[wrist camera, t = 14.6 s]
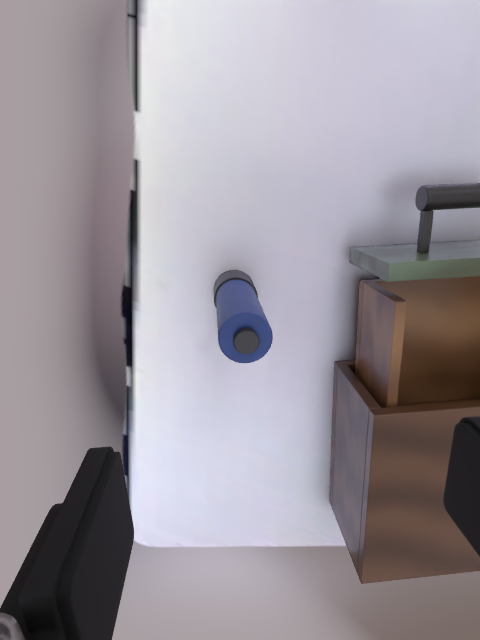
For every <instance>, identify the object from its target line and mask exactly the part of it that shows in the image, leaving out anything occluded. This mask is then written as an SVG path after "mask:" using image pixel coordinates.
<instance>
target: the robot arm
mask: <svg viewBox="0 0 480 640" xmlns="http://www.w3.org/2000/svg"><path fill="white" fill-rule="evenodd" d="M443 502H444V507H445V509H446V511H447V513H448V514H449V516H450V517H451V518H452V520H453V521H454V523H455V524H456V525H457V527H458V528H459V529H460V531H461V532H462V534H463V535H464V536H465V538H466V539H467V540H468V542H469V543H470V544H471V546H472V547H473V549H474V550H475V551H476V553H477V554H478V555H479V557H480V416H475V417H464V418H462V419H461V420H460V422H459V423H458V424H456V425H455V428H454V433H453V440H452V446H451V452H450V459H449V465H448V471H447V477H446V484H445V490H444V496H443ZM133 539H134V527H133V521H132V516H131V510H130V504H129V499H128V493H127V488H126V482H125V476H124V471H123V465H122V459H121V454H120V452H114V451H113V448H112V447H101V448H90V449H89V450H88V451H87V454H86V456H85V458H84V460H83V462H82V464H81V466H80V468H79V470H78V473H77V474H76V477H75V479H74V481H73V483H72V485H71V487H70V489H69V491H68V494H67V496H66V498H65V500H64V502H63V503H61V504H55V505H54V506H52V508H51V509H50V511H49V513H48V515H47V516H46V518H45V520H44V523H43V525H42V526H41V528H40V530H39V532H38V534H37V536H36V538H35V540H34V542H33V544H32V546H31V548H30V550H29V552H28V554H27V556H26V558H25V560H24V562H23V564H22V566H21V568H20V570H19V572H18V574H17V576H16V578H15V580H14V582H13V584H12V586H11V588H10V590H9V592H8V594H7V596H6V598H5V600H4V602H3V604H2V606H1V608H0V640H112V636H113V631H114V627H115V622H116V618H117V613H118V609H119V604H120V600H121V595H122V590H123V586H124V581H125V577H126V572H127V568H128V563H129V559H130V554H131V549H132V545H133Z"/></svg>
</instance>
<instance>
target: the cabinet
mask: <svg viewBox="0 0 480 640" xmlns="http://www.w3.org/2000/svg"><path fill="white" fill-rule="evenodd" d="M475 416H480V400H473V401H460V402H448V403H436V404H424V405H412V406H400V407H388V408H381V407H380V406H379V404H378V403H377V402H376V401H375V399H374V398H373V397H372V395H371V394H370V393H369V392H368V390H367V389H366V388H365V387H364V385H363V384H362V383H361V382H360V380H359V379H358V378H357V377H356V375H355V360H348V361H335V364H334V391H333V419H332V446H331V473H330V500H329V501H330V504H331V506H332V509H333V512H334V514H335V517H336V520H337V522H338V525H339V527H340V530H341V533H342V535H343V538H344V540H345V543H346V545H347V548H348V551H349V553H350V556H351V558H352V561H353V563H354V566H355V569H356V571H357V573H358V576H359V579H360V582H361V584H363V583H372V582H382V581H391V580H400V579H409V578H419V577H428V576H437V575H447V574H456V573H464V572H474V571H480V557H479V555H478V554H477V553H476V551H475V550H474V549H473V547H472V546H471V544H470V543H469V542H468V540H467V539H466V538H465V536H464V535H463V534H462V532H461V531H460V529H459V528H458V527H457V525H456V524H455V523H454V521H453V520H452V518H451V517H450V516H449V514H448V513H447V511H446V509H445V507H444V502H443V496H444V490H445V484H446V477H447V471H448V465H449V459H450V452H451V446H452V440H453V433H454V428H455V425H456V424H458V423H459V422H460V420H461V419H462V418H464V417H475Z"/></svg>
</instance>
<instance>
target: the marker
mask: <svg viewBox="0 0 480 640" xmlns="http://www.w3.org/2000/svg"><path fill="white" fill-rule="evenodd" d="M214 303H215V306H216V308H217V324H218V341H219V346H220V348H221V350H222V352H223V353H224V354H225V355H226V356H227V357H228V358H229V359H231V360H233V361H235V362H239V363H250V362H254V361H257V360H258V359H260V358H262V357H263V356H264V355H265V354H266V353H267V352H268V350H269V348H270V346H271V344H272V330H271V327H270V325H269V323H268V321H267V318H266V316H265V314H264V312H263V309H262V307H261V305H260V303H259V300H258V295H257V291H256V289H255V287H254V285H253V282H252V280H251V279H250V277H249V276H248V275H247V274H245V273H244V272H241V271H238V270H230V271H227V272H225V273H223V274H221V275H220V276H219V277H218V278H217V280H216V282H215V285H214Z"/></svg>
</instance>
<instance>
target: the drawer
mask: <svg viewBox="0 0 480 640" xmlns="http://www.w3.org/2000/svg"><path fill="white" fill-rule="evenodd" d="M416 207H417V209H418V210H420V211H421V214H420V224H419V234H418V244H403V245H385V246H368V247H351V248H350V260H349V262H350V263H351V264H353V265H355V266H357V267H359V268H361V269H363V270H365V271H367V272H369V273H371V274H373V275H375V276H377V277H379V278H381V279H374V280H360V288H359V306H358V324H357V341H356V359H355V375H356V377H357V378H358V379H359V380H360V382H361V383H362V384H363V385H364V387H365V388H366V389H367V390H368V392H369V393H370V394H371V395H372V397H373V398H374V399H375V401H376V402H377V403H378V404H379V406H380V407H381V408H388V407H400V406H412V405H424V404H436V403H448V402H460V401H473V400H480V240H471V241H454V242H437V243H430V238H431V229H432V220H433V210H445V209H463V208H480V183H465V184H444V185H424V186H421V187H420V188H419V189H418V191H417V194H416Z"/></svg>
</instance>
